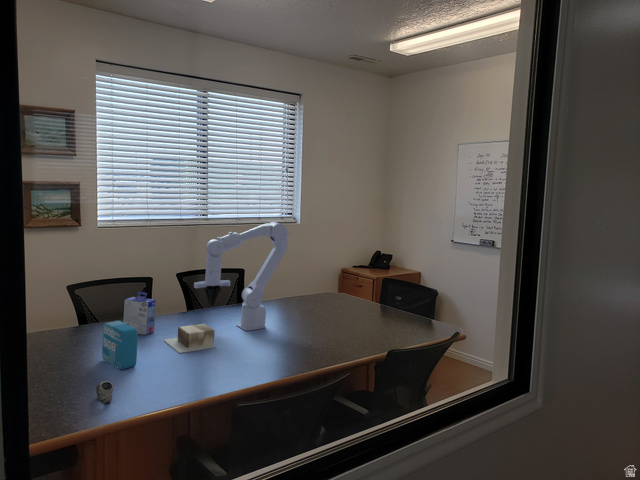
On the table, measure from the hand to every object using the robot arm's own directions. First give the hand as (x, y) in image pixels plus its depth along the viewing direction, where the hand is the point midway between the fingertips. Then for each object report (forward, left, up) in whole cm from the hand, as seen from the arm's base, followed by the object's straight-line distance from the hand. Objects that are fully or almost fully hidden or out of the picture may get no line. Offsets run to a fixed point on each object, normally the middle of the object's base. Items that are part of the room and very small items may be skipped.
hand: (211, 304), depth 182 cm
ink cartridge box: (+25, -7, -10) cm, 28 cm away
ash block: (+7, +13, -7) cm, 16 cm away
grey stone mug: (+50, +42, -10) cm, 66 cm away
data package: (+40, +20, -10) cm, 46 cm away
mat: (+14, +13, -9) cm, 21 cm away
